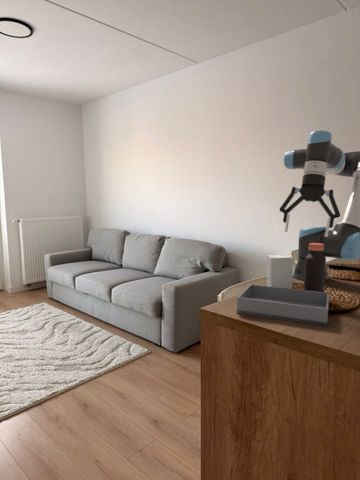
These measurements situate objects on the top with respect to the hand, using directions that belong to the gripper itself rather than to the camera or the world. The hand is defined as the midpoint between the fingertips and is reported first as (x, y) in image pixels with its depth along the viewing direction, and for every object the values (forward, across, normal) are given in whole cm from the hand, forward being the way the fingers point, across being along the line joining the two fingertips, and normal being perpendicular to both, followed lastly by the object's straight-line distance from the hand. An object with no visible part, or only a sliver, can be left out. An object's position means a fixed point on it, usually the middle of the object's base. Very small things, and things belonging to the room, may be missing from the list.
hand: (305, 234), depth 119 cm
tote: (+26, -3, -14) cm, 30 cm away
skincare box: (+24, -6, +3) cm, 25 cm away
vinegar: (+23, +6, +3) cm, 24 cm away
